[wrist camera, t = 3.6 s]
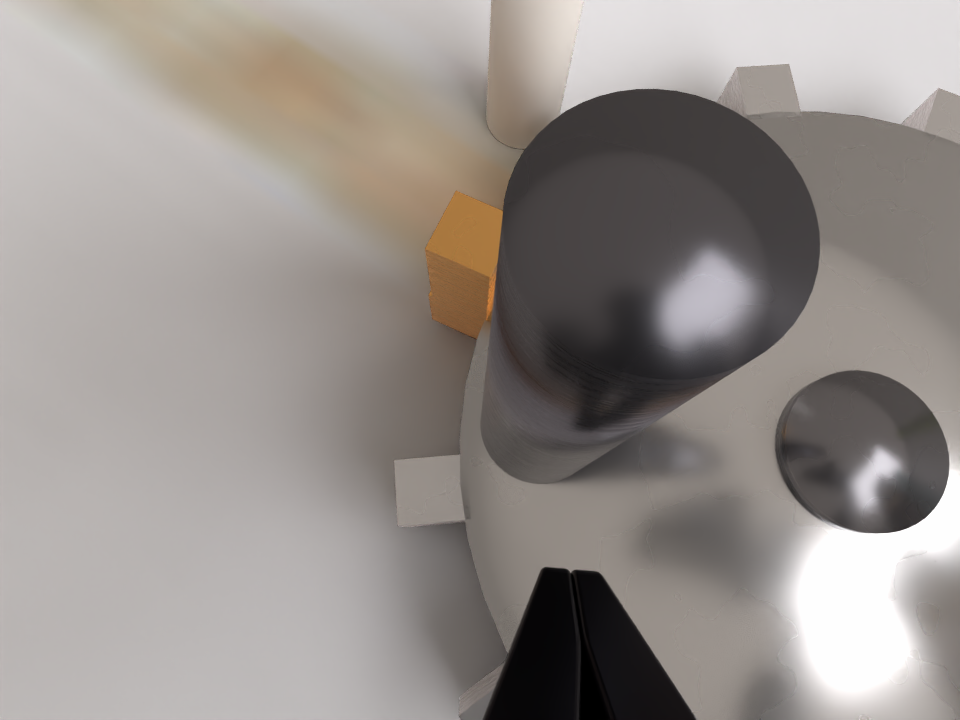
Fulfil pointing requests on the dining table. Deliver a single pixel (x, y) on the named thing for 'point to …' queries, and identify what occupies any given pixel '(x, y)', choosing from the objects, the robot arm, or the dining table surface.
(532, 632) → the robot arm
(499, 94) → the pointer post
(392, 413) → the dining table surface
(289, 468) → the dining table surface
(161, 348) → the dining table surface
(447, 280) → the sprocket
